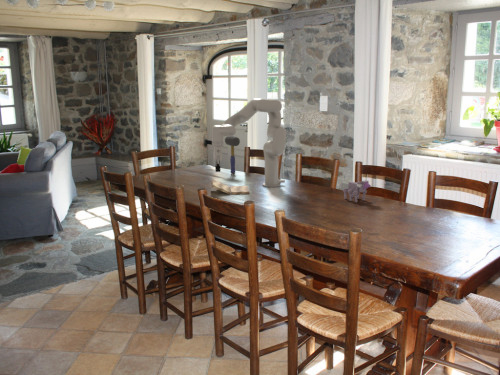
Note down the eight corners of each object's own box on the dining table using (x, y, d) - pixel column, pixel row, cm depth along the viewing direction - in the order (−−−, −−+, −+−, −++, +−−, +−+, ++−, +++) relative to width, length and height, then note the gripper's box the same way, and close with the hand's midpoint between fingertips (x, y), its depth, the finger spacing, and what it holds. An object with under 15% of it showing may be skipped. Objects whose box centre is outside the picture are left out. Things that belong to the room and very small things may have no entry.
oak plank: (227, 188, 343) (228, 186, 343) (229, 194, 325) (230, 192, 325) (211, 181, 341) (211, 179, 340) (211, 187, 323) (212, 184, 323)
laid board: (246, 187, 344) (246, 185, 344) (249, 193, 327) (249, 191, 326) (228, 188, 343) (228, 186, 343) (230, 194, 325) (230, 192, 325)
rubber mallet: (241, 174, 392) (240, 136, 386) (233, 175, 388) (232, 137, 382) (232, 172, 402) (231, 135, 396) (224, 173, 398) (223, 136, 391)
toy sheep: (377, 202, 299) (377, 180, 295) (364, 206, 293) (364, 183, 290) (353, 196, 315) (353, 175, 312) (341, 199, 310) (340, 178, 307)
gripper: (224, 145, 320) (224, 173, 323) (222, 142, 334) (223, 169, 338) (212, 145, 319) (212, 173, 323) (211, 142, 333) (211, 169, 337)
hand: (217, 171), depth 330 cm, fingers closed
